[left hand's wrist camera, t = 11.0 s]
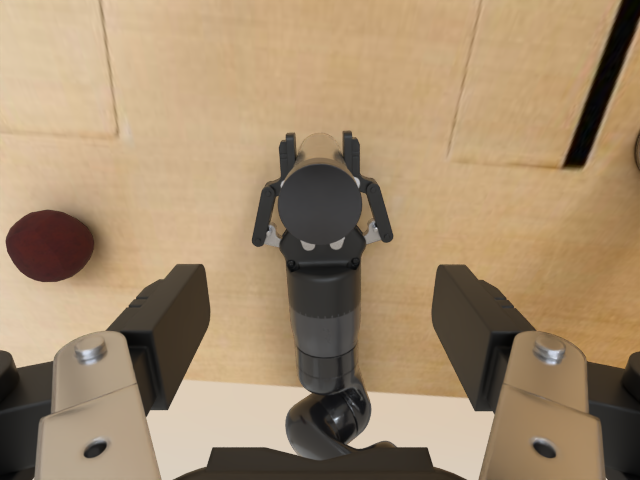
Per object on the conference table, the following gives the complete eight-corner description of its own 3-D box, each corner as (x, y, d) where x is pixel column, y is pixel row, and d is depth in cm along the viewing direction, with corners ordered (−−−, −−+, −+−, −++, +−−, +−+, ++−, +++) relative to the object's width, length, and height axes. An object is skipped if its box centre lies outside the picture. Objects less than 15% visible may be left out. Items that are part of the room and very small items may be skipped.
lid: (371, 208, 23) (377, 219, 21) (307, 244, 24) (306, 258, 22) (333, 142, 21) (335, 146, 19) (266, 183, 22) (261, 191, 20)
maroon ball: (67, 272, 44) (24, 302, 38) (25, 216, 42) (-30, 238, 35) (118, 250, 43) (82, 277, 37) (78, 191, 41) (31, 210, 34)
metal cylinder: (347, 160, 40) (371, 216, 21) (313, 180, 40) (307, 251, 22) (327, 124, 38) (333, 150, 20) (292, 146, 39) (267, 191, 21)
